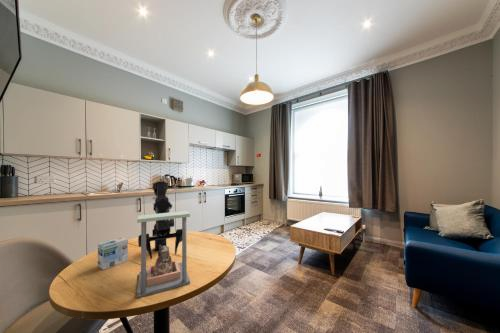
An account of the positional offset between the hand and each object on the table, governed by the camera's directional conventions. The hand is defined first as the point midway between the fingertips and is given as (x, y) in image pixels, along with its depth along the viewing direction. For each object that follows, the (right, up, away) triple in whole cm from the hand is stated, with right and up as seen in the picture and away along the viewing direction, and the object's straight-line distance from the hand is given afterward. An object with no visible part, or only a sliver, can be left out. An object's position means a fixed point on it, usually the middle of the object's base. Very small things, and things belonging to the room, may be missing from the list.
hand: (163, 256), depth 77 cm
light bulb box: (-31, -10, +14) cm, 35 cm away
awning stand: (0, -9, +1) cm, 9 cm away
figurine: (-1, -8, +1) cm, 8 cm away
